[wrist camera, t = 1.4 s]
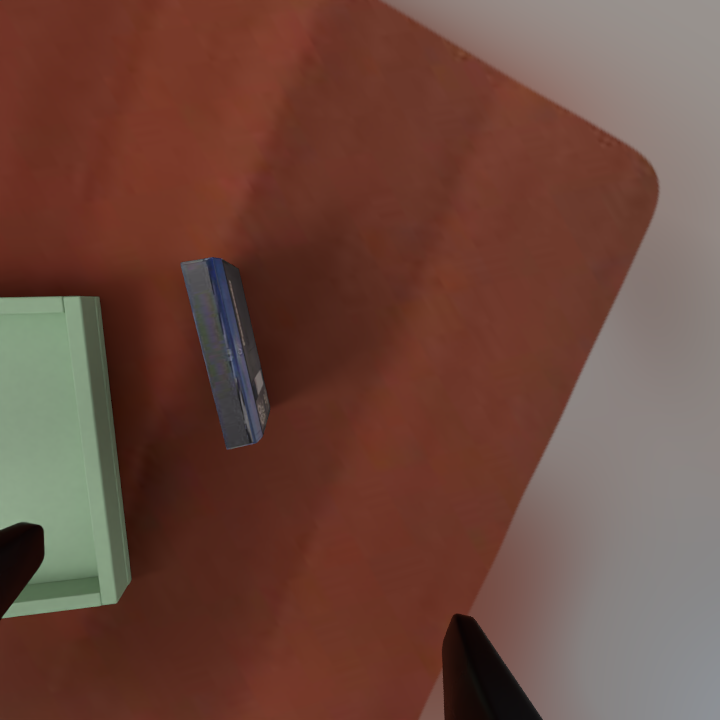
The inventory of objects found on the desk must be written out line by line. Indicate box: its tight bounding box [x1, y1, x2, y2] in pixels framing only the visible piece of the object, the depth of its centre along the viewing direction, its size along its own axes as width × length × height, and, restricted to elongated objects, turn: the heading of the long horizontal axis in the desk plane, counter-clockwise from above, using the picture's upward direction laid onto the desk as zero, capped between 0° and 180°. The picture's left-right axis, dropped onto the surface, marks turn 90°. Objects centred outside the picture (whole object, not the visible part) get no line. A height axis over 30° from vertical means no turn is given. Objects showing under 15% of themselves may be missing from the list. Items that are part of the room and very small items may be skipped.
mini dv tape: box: [181, 257, 270, 450], centre depth 20 cm, size 8×2×6 cm, turn 11°
